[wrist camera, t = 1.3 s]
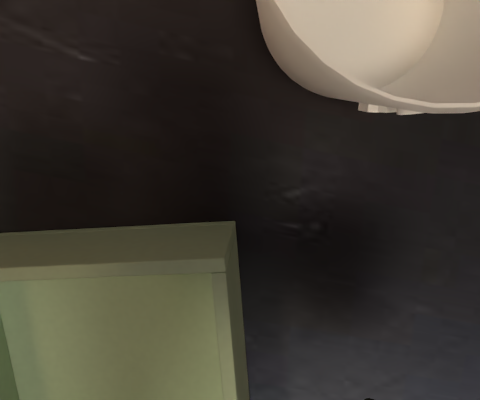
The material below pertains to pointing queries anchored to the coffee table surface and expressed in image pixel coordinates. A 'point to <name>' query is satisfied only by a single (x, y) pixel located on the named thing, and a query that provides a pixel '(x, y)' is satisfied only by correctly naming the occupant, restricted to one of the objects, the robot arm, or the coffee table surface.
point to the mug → (380, 51)
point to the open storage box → (122, 314)
